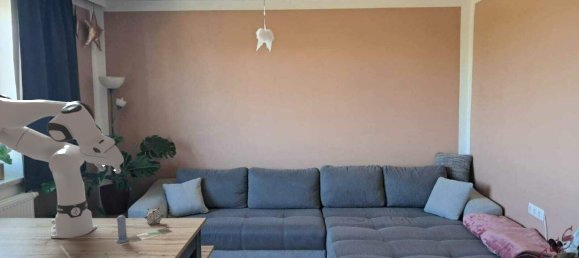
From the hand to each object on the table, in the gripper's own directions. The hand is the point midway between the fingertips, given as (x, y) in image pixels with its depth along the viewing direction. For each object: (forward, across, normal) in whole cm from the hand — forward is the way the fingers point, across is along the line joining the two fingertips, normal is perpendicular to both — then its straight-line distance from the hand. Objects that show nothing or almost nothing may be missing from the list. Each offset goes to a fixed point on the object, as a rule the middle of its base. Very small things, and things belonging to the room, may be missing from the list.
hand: (111, 171), depth 163 cm
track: (+35, 0, -4) cm, 35 cm away
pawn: (+30, -3, -10) cm, 32 cm away
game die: (+42, -10, +9) cm, 44 cm away
